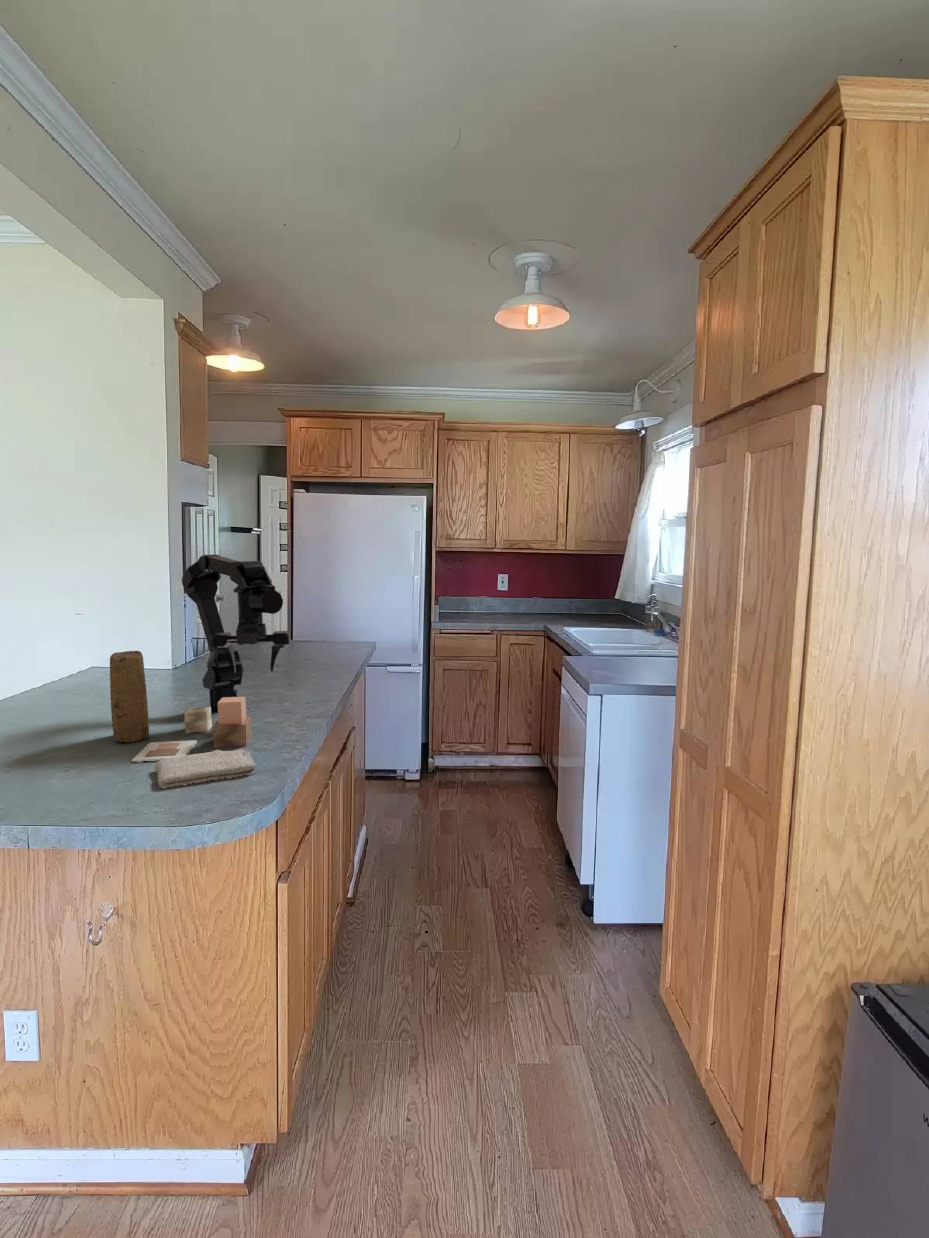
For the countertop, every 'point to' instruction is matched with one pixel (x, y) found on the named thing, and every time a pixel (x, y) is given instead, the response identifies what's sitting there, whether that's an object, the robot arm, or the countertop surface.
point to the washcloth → (203, 767)
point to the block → (128, 697)
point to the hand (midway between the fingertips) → (253, 672)
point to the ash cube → (198, 719)
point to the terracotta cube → (231, 710)
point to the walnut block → (232, 734)
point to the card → (165, 750)
